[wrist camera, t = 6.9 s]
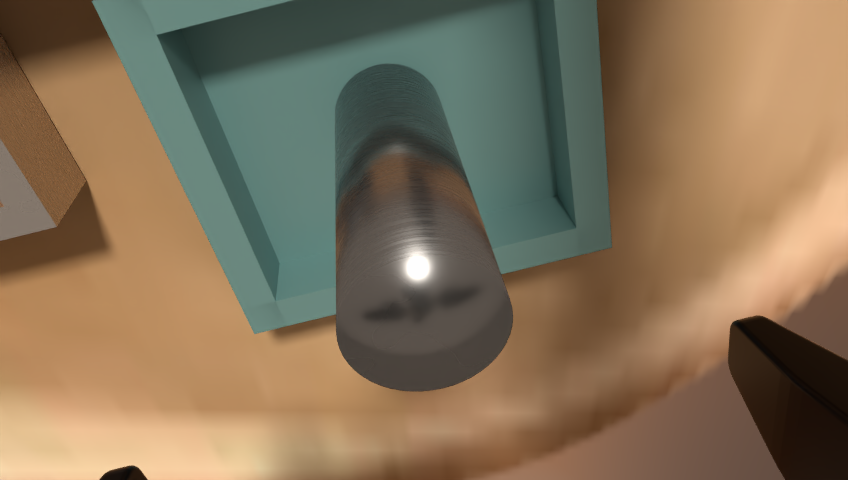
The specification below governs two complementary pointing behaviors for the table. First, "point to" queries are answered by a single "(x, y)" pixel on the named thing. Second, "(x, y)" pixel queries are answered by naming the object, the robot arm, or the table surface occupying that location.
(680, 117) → the table surface
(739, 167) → the table surface
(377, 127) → the pin
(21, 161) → the socket
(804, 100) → the table surface
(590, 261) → the table surface
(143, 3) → the tray
